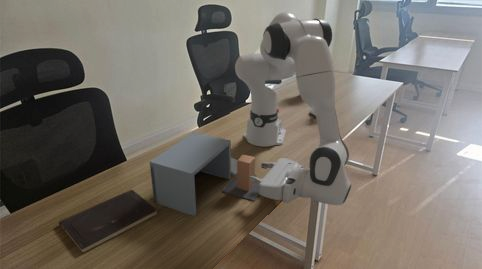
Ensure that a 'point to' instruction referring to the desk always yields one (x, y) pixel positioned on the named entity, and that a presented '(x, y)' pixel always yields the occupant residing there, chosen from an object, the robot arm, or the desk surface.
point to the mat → (233, 190)
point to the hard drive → (233, 166)
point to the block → (245, 172)
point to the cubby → (188, 169)
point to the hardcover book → (107, 219)
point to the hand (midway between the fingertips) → (256, 170)
